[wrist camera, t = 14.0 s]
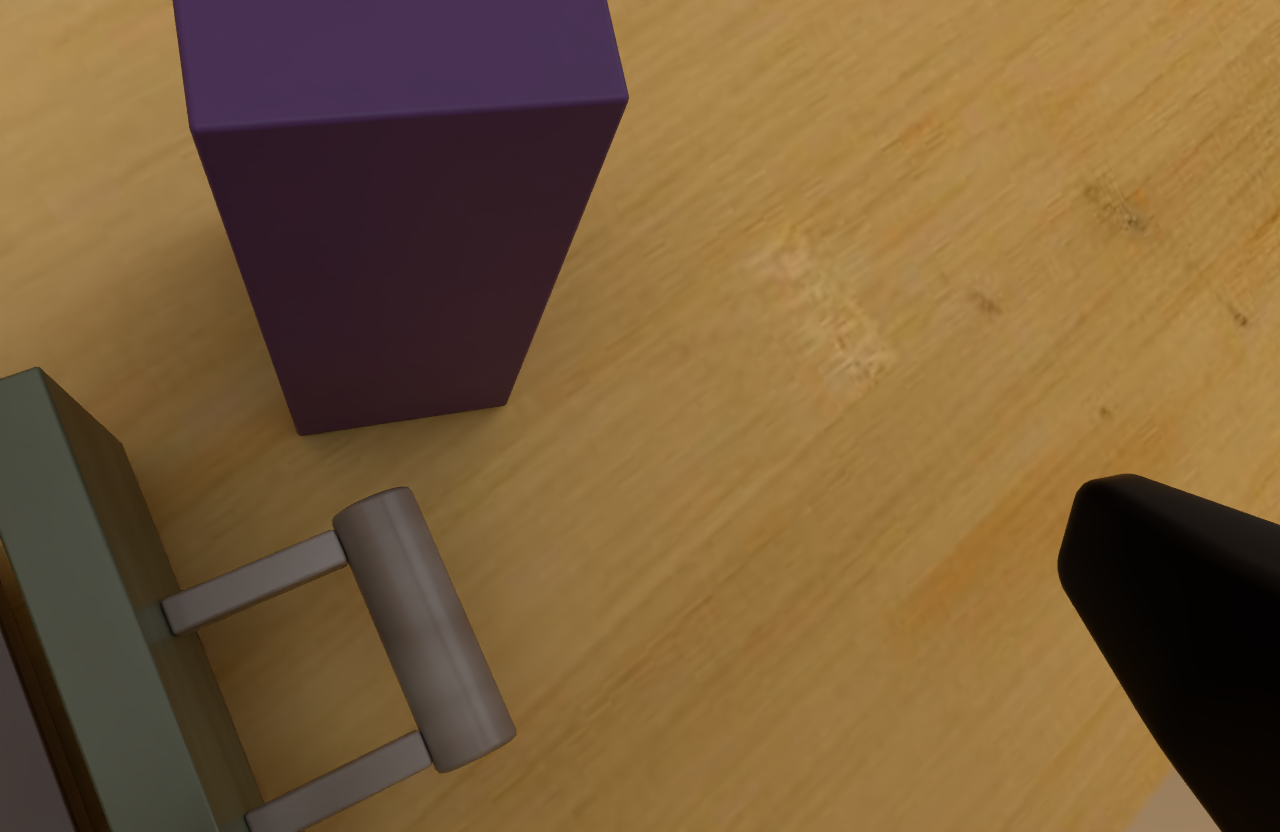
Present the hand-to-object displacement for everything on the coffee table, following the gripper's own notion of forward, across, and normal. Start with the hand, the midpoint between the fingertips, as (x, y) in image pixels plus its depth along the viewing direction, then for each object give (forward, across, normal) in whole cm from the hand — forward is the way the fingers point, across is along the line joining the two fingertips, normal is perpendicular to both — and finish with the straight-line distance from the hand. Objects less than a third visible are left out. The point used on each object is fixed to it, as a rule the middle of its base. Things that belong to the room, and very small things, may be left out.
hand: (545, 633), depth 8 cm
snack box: (+15, 0, +4) cm, 16 cm away
